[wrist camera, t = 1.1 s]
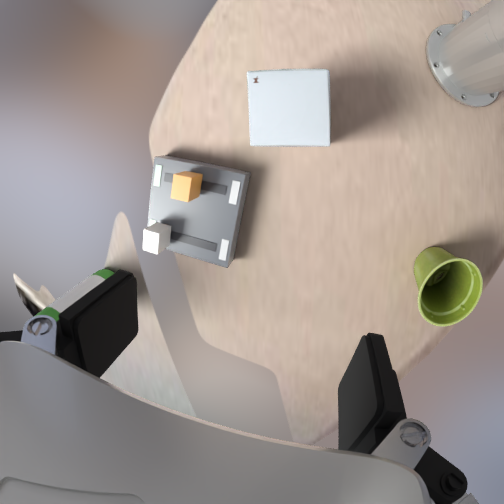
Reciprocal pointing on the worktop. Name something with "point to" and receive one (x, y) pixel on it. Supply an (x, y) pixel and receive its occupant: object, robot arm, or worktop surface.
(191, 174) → the block
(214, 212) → the slider switch panel
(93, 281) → the wine bottle
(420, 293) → the plant pot
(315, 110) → the supplement box
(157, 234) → the white slider switch
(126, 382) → the worktop surface
